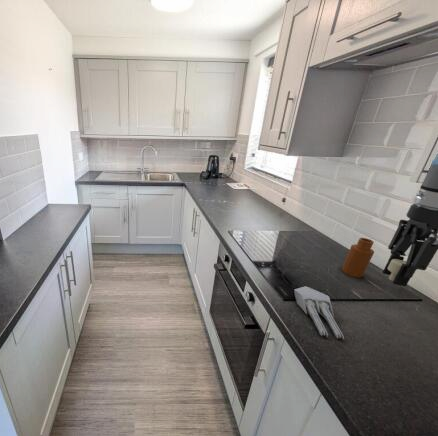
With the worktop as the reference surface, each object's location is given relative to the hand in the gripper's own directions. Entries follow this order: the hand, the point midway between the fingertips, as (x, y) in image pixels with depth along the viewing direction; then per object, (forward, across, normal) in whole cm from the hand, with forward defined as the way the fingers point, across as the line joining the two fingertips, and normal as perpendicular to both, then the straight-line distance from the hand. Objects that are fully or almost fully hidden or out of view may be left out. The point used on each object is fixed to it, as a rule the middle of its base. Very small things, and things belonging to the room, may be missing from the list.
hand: (393, 278), depth 70 cm
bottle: (+17, -31, +6) cm, 36 cm away
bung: (0, 0, 0) cm, 0 cm away
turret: (+17, +4, -17) cm, 24 cm away
